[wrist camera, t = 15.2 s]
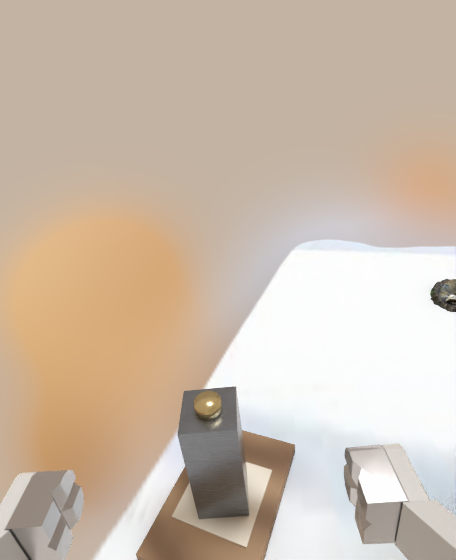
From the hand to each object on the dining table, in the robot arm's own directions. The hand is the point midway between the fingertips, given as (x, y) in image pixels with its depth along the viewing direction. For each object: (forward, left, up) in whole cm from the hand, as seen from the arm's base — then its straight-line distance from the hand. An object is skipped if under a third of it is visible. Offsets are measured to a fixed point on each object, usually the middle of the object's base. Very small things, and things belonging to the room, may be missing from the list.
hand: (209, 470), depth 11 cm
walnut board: (-8, -14, -28) cm, 33 cm away
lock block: (-8, -14, -27) cm, 31 cm away
